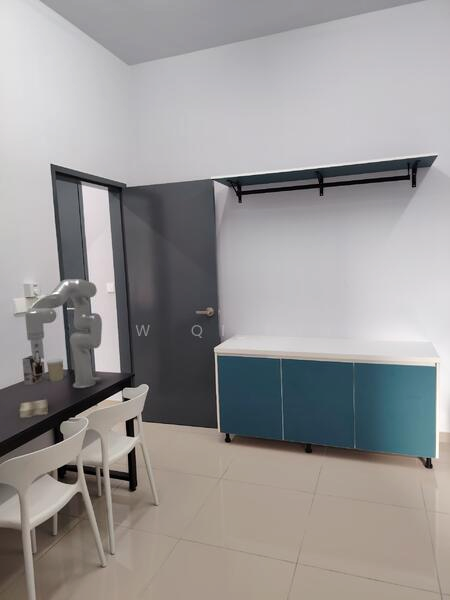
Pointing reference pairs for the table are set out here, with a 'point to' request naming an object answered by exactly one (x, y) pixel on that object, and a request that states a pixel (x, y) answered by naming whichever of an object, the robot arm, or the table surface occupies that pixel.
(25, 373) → the coffee box
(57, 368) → the coffee cup
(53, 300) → the robot arm
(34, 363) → the terracotta cube
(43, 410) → the birch block
